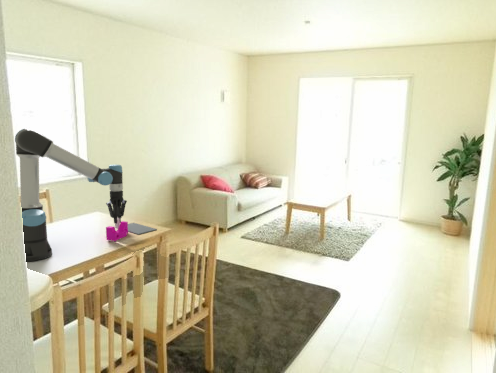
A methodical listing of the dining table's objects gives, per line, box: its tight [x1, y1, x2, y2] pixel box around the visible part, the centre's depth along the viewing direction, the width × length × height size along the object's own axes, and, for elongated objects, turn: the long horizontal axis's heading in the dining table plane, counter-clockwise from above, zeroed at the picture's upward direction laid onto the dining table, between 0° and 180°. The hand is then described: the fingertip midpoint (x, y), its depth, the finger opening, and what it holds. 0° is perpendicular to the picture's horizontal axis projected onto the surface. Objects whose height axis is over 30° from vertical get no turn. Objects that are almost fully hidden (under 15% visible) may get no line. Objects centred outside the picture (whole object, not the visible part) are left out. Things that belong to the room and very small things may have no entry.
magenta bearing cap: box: [105, 220, 129, 242], centre depth 217 cm, size 15×6×8 cm, turn 162°
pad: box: [128, 222, 158, 235], centre depth 234 cm, size 14×24×1 cm, turn 53°
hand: (117, 228), depth 223 cm, fingers closed
